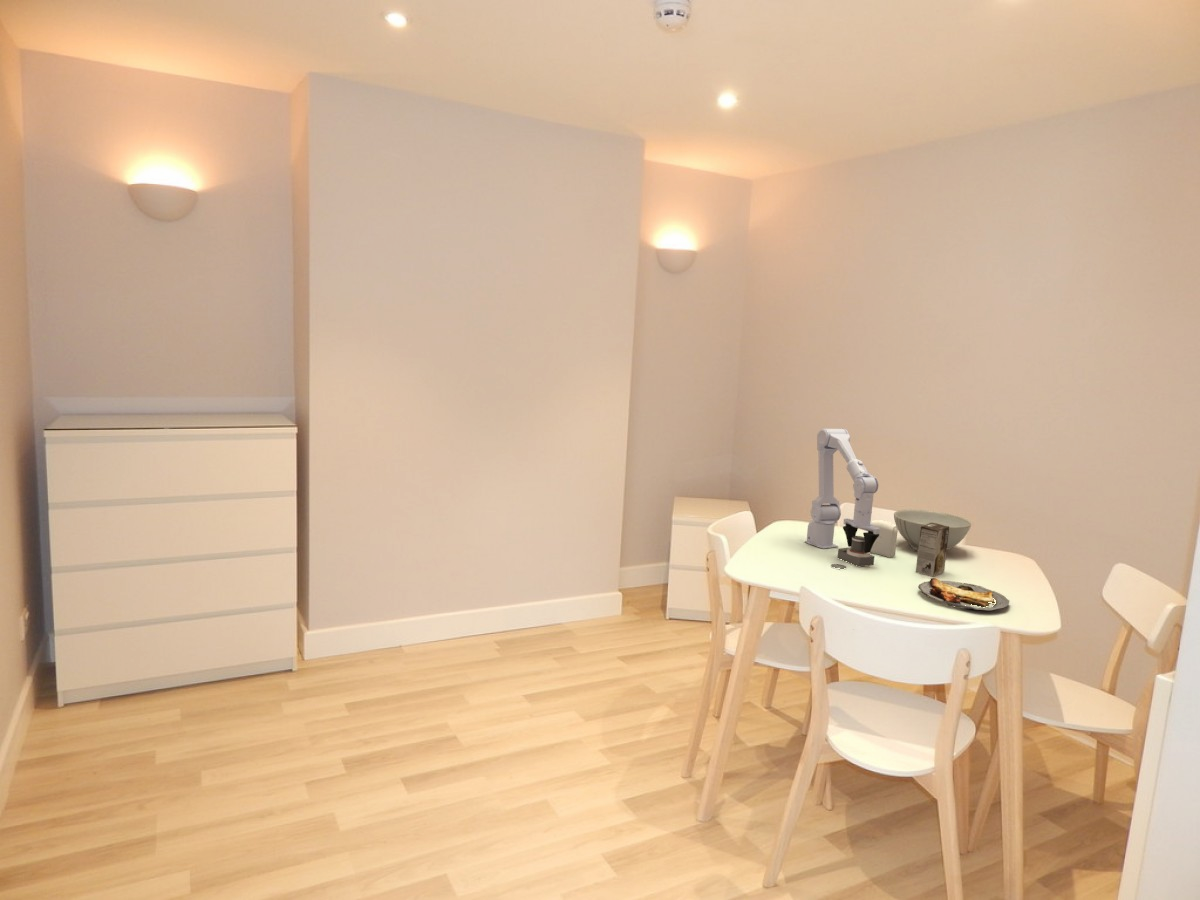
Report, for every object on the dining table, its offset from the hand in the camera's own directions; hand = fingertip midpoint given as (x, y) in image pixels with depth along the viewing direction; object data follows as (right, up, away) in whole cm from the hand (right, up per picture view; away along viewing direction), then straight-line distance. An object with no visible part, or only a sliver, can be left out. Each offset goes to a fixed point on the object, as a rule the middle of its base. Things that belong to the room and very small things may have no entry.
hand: (858, 549), depth 268 cm
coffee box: (+22, -7, -6) cm, 24 cm away
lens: (-1, -2, 0) cm, 2 cm away
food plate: (+20, -11, -33) cm, 40 cm away
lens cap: (-9, -6, -6) cm, 12 cm away
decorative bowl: (+34, -3, +23) cm, 41 cm away
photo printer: (+12, -4, +13) cm, 18 cm away
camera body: (-1, -5, +2) cm, 5 cm away
